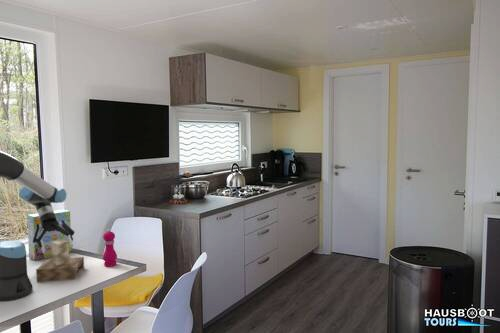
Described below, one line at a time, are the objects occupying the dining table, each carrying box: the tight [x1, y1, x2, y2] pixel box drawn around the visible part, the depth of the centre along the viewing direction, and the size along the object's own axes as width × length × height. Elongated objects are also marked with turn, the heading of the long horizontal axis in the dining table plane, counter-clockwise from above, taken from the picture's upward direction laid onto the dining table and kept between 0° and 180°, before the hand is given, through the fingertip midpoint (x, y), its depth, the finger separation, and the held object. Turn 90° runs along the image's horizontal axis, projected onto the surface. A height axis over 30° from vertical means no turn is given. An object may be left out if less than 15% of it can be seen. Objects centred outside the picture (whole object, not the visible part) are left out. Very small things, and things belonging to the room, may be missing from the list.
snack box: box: [27, 209, 72, 261], centre depth 230 cm, size 22×9×26 cm, turn 143°
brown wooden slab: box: [35, 256, 85, 283], centre depth 199 cm, size 18×16×6 cm
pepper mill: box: [102, 228, 118, 268], centre depth 212 cm, size 7×7×20 cm
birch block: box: [51, 240, 70, 266], centre depth 198 cm, size 6×6×11 cm
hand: (58, 249), depth 201 cm, fingers open, 13 cm apart
